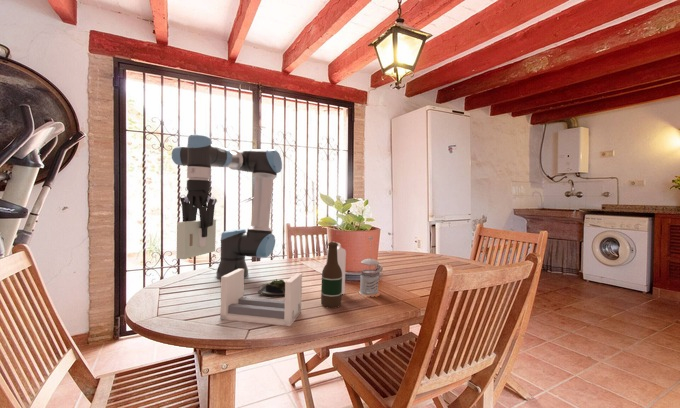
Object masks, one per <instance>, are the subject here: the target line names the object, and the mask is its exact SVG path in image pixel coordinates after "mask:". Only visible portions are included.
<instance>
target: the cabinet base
mask: <svg viewBox="0 0 680 408" xmlns="http://www.w3.org/2000/svg"><path fill="white" fill-rule="evenodd" d="M284 282H285V296H284V300H280V299H279V300H277V299H266V298H257V297H256V298H255V297H245V296H244V295H245V294H244V290H245V289H244V288H245V285H244V284H245V277H244V269H237V270H235V271H233V272H230V273H228V274H226V275H224V276H222V277H221V279H220V313H219V314H220V318H219V319H220V320H226V321H228V320H229V321H236V322H245V323H246V322H249V323H255V324H256V323H258V324H267V325H277V326H286V327H291V325H292V324H293V323H294V322H295V321H296V319H297V318H298V317H299V315H300V314H301V312H302V288H303V273H301V272H295V273H294V274H293V275H292V276H291V277H289V278H288V279H287V280H285V281H284Z"/></svg>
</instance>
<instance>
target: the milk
mask: <svg viewBox="0 0 680 408" xmlns="http://www.w3.org/2000/svg"><path fill="white" fill-rule="evenodd" d="M335 242H336V241H335ZM336 243H337V244H338V246H337V260H338V265H339V266H340V268H341V271H342V294H343V295H345V294H344V293H346V292H345V291H346V290H345V289H346V265H347V264H346V260H347V259H346V258H347V249H345V248H343V247H342V244H341V243H340V242H336ZM328 249H329V247H328V248H326V260H325V261H326V264H327V260H328ZM326 264H325V265H326Z"/></svg>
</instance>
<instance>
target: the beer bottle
mask: <svg viewBox="0 0 680 408" xmlns="http://www.w3.org/2000/svg"><path fill="white" fill-rule="evenodd" d="M337 243H338V242H337ZM337 243H336V241H330V242H328V244H327V246H328V248H329V249H328V248H327V249H328V260H327V259H326V260H327V264H325V265H324V267H323V269H322V272H321V290H320V291H321V293H320V302H321V306H322V307H324V308H326V307H328V308H327V309H336V308H335V307H337V308H338V306H339V307H340V306H341V305H342V271H341V268H340V266H339V265H338V260H337V246H338V244H337Z"/></svg>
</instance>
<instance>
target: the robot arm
mask: <svg viewBox="0 0 680 408" xmlns="http://www.w3.org/2000/svg"><path fill="white" fill-rule="evenodd" d="M171 159H172V162H173V163H174V164H175V165H177V166H183V167H186V168H187V169H186V170H187V171H186V172H187V173H186V178H188V179H187V180H186V190H187V194H186V196H184V197H180V198H179V200H180V202H181V211H182V214H181V215H182V222H186V221H196V220H197V213H198V212H199V220H200V223H201V227H200V228H199V242H198V247H202V246H205V242H206V237H207V228H208V227H210V226H212V225H213V219H214V217H215V216H214V215H215V206H216V203H217V202H218V201H217V198H214V197H211V195H210V191H211V181H210V180H211V177H212V176H211V170H212V167H213V168H214V167H215V168H229V169H230V170H234V171H235V170H236V171H242V172H247V173H252V175H253V177H255V182H254V192H253V201H252V213H251V221H250V226H248V228H247V229H245V228H244V229H243V228H242V229H241V228H240V229H231V230H226V231H223V232H221V236H220V262H219V263H218V267H217V270H216V278H217V279H220V280H221V277H222V276H224V275H226V274H228V273H230V272H233V271H235V270H237V269H244V278H247V277H248V276H249V269H248V266H247V262H246V257H250V258H251V257H252V258H260V259H261V258H262V259H263V258H268V257H270V256H271V254H272V253H273V251H274V250H275V249H274V248H275V245H276V237H275V235H274V234H273V233H272V231H273V230H272V229H271V227H270V220H271V219H270V217H271V206H272V205H271V204H272V198H273V197H272V194H273V184H274V180H275V179H276V178H277V175H278V173H281V172H282V169H283V161H282V157H281V155H280V153H279V152H278V150H276V149H272V148H271V149H270V148H267V149H266V148H265V149H264V148H263V149H262V148H260V149H256V148H254V149H252V148H251V149H242V150H241V149H239V150H238V149H237V150H235V149H233V150H230V149H228V148H227V147H226V148H225V147H223V146H220V145H215V144H213V143H212V138H211V137H210V136H207V135H204V134H190V135H189V136H188V137H187V146H186V145H182V146H181V145H180V146H175V147H174V148H173V149H172V151H171Z"/></svg>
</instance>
